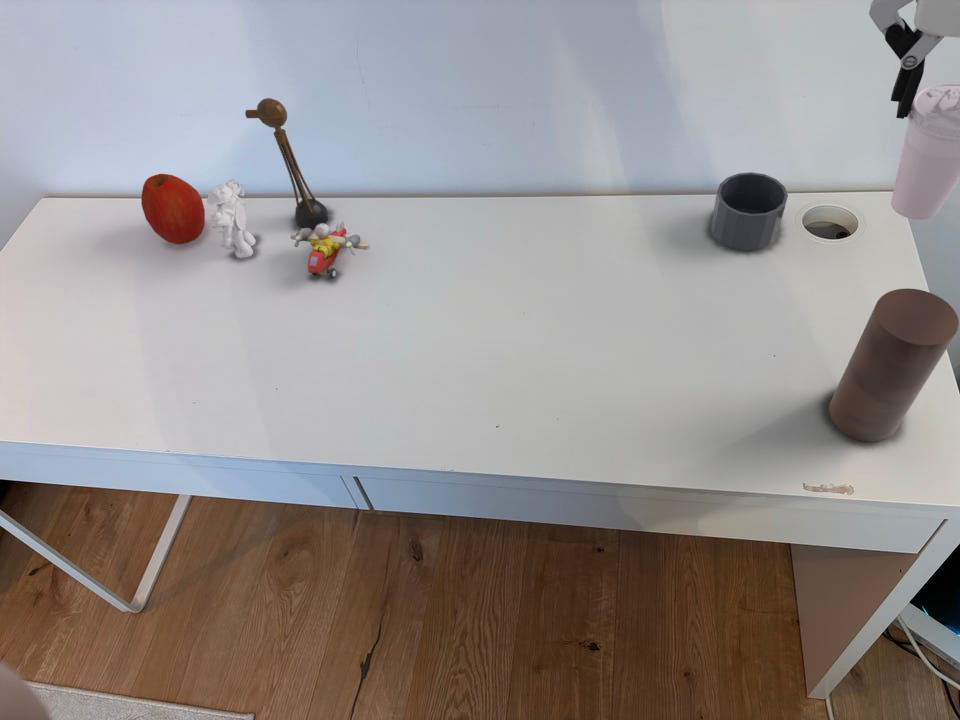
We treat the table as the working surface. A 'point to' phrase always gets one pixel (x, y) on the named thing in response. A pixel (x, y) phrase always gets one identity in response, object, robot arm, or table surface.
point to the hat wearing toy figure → (231, 217)
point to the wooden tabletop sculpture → (290, 163)
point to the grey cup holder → (748, 211)
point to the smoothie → (929, 152)
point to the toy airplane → (327, 246)
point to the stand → (892, 363)
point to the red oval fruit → (173, 208)
